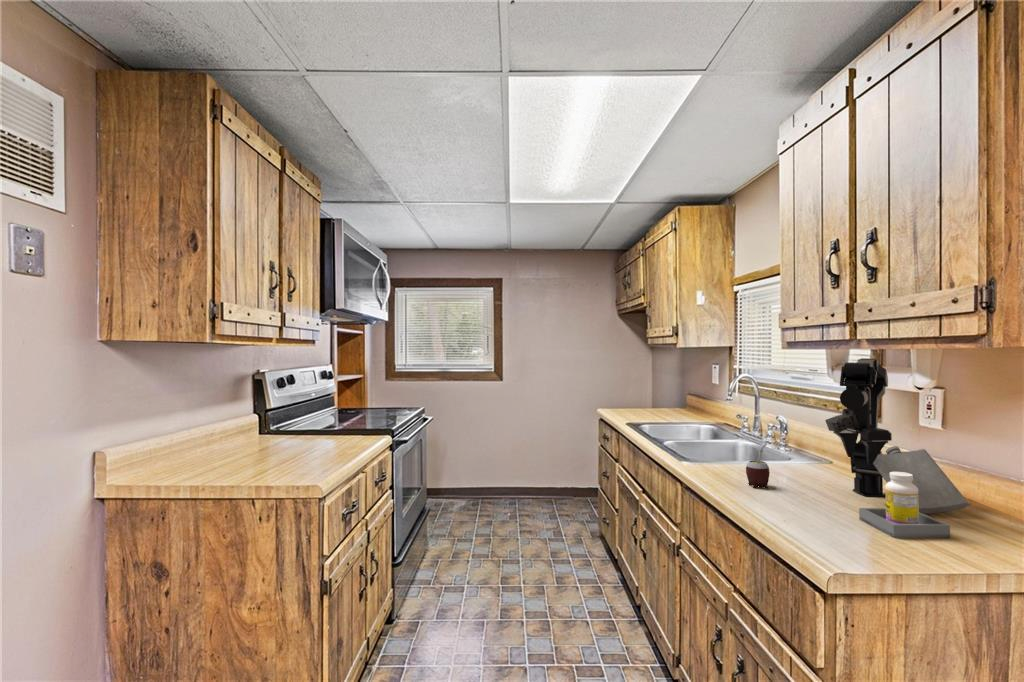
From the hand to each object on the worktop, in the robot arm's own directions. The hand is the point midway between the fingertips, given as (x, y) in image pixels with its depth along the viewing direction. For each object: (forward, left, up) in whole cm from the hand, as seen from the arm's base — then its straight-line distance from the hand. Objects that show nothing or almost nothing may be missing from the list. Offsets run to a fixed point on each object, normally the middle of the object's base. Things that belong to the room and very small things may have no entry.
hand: (859, 460), depth 146 cm
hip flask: (-15, +8, -12) cm, 21 cm away
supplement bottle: (+1, +18, -12) cm, 22 cm away
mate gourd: (+20, -20, -13) cm, 31 cm away
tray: (+1, +18, -13) cm, 22 cm away
